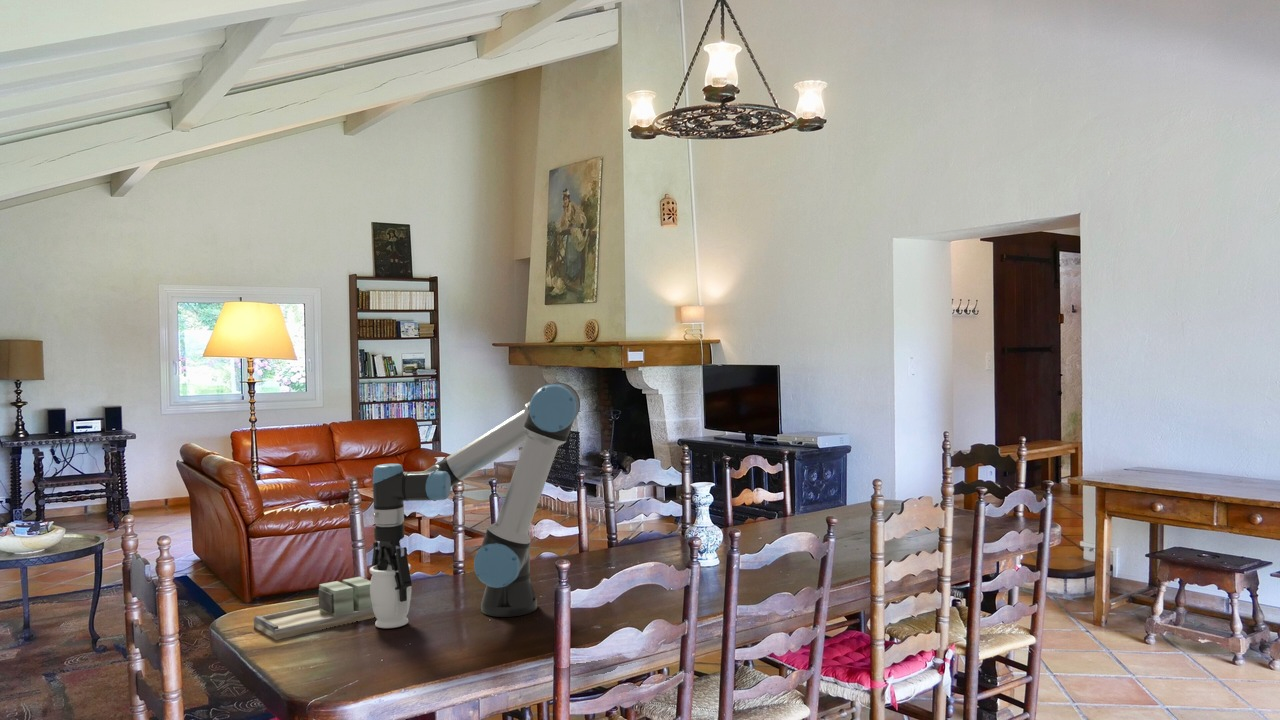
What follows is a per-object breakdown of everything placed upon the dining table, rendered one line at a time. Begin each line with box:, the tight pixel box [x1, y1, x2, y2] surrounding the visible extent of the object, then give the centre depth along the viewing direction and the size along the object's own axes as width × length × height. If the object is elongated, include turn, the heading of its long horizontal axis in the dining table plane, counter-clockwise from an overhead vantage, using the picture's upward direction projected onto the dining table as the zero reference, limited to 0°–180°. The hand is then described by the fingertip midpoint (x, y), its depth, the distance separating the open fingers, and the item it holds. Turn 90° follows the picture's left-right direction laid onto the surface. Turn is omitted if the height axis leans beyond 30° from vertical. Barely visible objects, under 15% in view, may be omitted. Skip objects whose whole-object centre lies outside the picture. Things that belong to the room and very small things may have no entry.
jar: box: [369, 563, 413, 629], centre depth 236 cm, size 11×10×15 cm
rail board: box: [253, 576, 376, 641], centre depth 241 cm, size 15×28×8 cm, turn 133°
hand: (391, 609), depth 236 cm, fingers closed on jar, 10 cm apart
